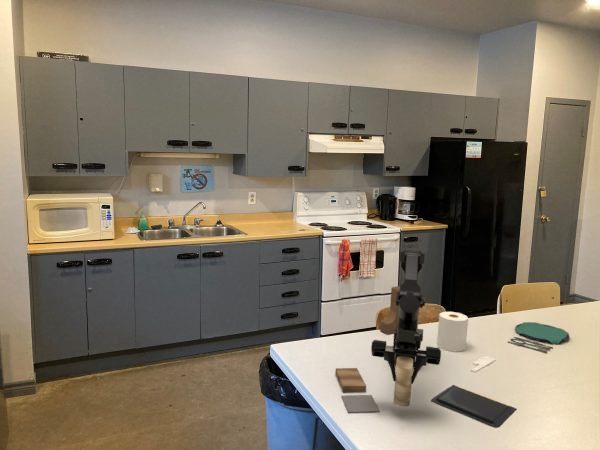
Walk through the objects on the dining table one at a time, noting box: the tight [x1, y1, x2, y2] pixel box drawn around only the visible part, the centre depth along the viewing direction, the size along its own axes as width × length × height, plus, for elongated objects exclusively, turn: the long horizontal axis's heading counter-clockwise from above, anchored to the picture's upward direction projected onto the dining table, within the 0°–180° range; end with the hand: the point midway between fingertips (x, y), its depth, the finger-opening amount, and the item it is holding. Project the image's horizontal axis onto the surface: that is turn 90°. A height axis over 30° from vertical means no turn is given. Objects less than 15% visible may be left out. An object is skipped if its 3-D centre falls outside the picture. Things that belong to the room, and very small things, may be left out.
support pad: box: [341, 394, 381, 414], centre depth 138 cm, size 9×9×1 cm
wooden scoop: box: [379, 285, 400, 335], centre depth 195 cm, size 9×4×18 cm, turn 119°
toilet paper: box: [436, 311, 469, 353], centre depth 182 cm, size 10×10×12 cm
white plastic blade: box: [470, 355, 496, 374], centre depth 168 cm, size 5×15×1 cm, turn 133°
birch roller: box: [393, 356, 414, 408], centre depth 132 cm, size 4×4×12 cm
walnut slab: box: [334, 367, 367, 394], centre depth 151 cm, size 12×7×2 cm, turn 7°
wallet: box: [430, 384, 518, 429], centre depth 140 cm, size 20×2×15 cm
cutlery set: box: [507, 321, 570, 354], centre depth 195 cm, size 20×30×2 cm, turn 136°
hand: (403, 382), depth 131 cm, fingers closed on birch roller, 4 cm apart
